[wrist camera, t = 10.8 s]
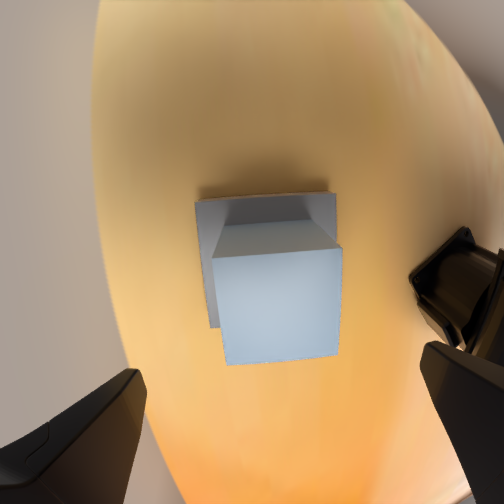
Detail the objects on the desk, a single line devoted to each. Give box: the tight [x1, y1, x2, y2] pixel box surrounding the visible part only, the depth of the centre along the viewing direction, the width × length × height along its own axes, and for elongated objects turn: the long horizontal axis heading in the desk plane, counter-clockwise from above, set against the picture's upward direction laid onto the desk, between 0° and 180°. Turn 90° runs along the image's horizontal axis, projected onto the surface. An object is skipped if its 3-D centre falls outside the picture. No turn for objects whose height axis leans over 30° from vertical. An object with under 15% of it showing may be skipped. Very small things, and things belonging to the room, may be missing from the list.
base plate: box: [195, 191, 337, 328], centre depth 17 cm, size 8×8×4 cm
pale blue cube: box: [211, 219, 342, 365], centre depth 15 cm, size 5×5×6 cm
